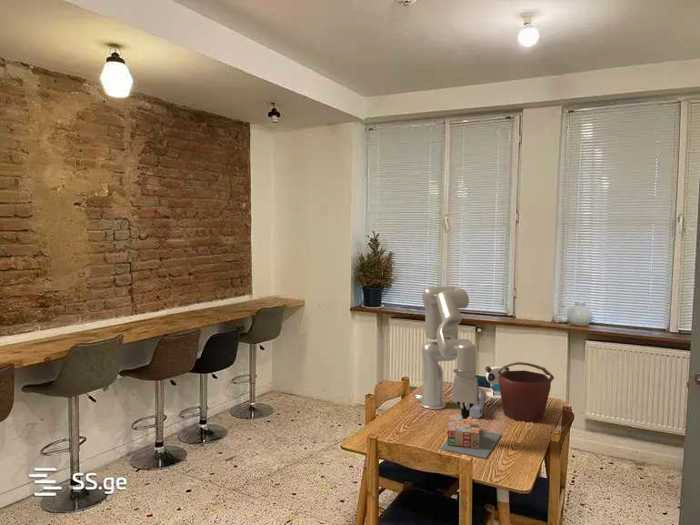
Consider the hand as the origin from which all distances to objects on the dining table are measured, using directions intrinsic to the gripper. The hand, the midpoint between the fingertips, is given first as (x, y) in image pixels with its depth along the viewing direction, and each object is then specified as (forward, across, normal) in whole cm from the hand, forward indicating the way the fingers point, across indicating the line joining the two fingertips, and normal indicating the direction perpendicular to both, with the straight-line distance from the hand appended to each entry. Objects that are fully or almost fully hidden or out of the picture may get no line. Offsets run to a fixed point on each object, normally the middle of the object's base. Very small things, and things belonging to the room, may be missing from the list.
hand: (465, 417), depth 213 cm
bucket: (+10, +16, +41) cm, 45 cm away
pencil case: (+10, -6, +37) cm, 39 cm away
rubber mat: (+10, +3, 0) cm, 10 cm away
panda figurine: (+10, -3, +67) cm, 68 cm away
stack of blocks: (+6, -8, +1) cm, 10 cm away
